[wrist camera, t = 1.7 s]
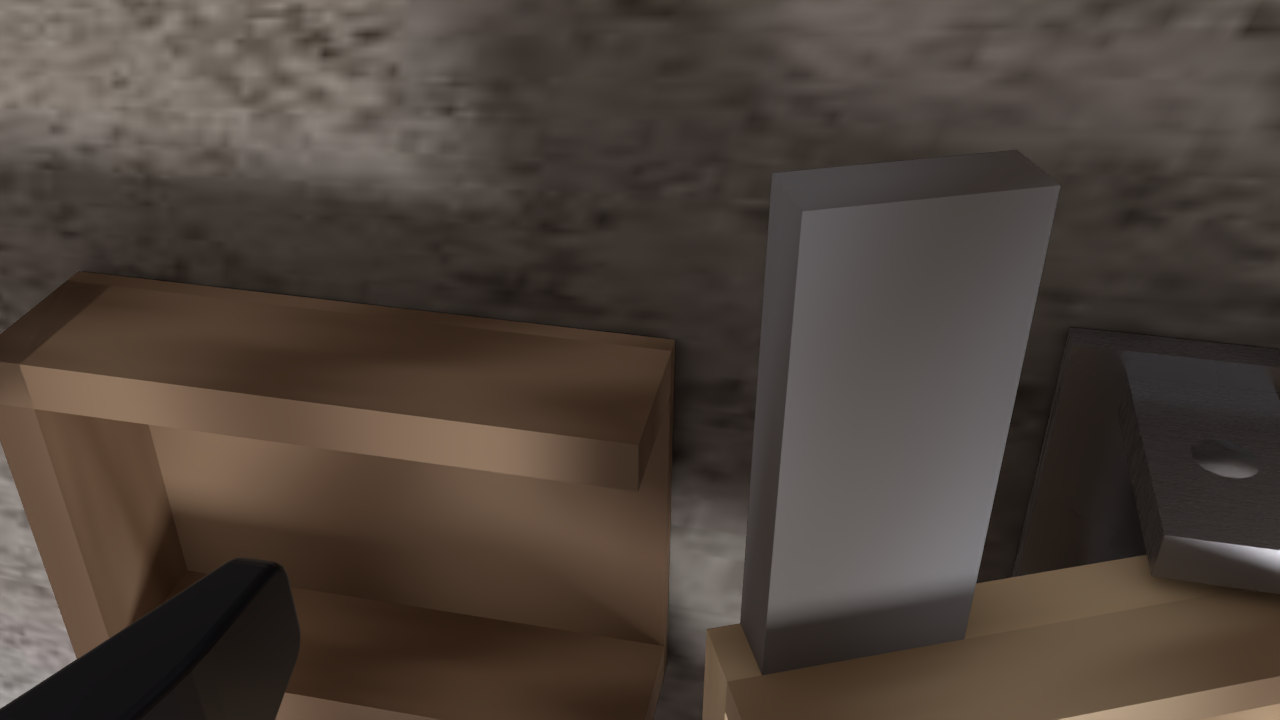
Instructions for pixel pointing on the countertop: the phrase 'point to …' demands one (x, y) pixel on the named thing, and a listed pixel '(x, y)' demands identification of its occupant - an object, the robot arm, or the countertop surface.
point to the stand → (1160, 461)
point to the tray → (358, 489)
